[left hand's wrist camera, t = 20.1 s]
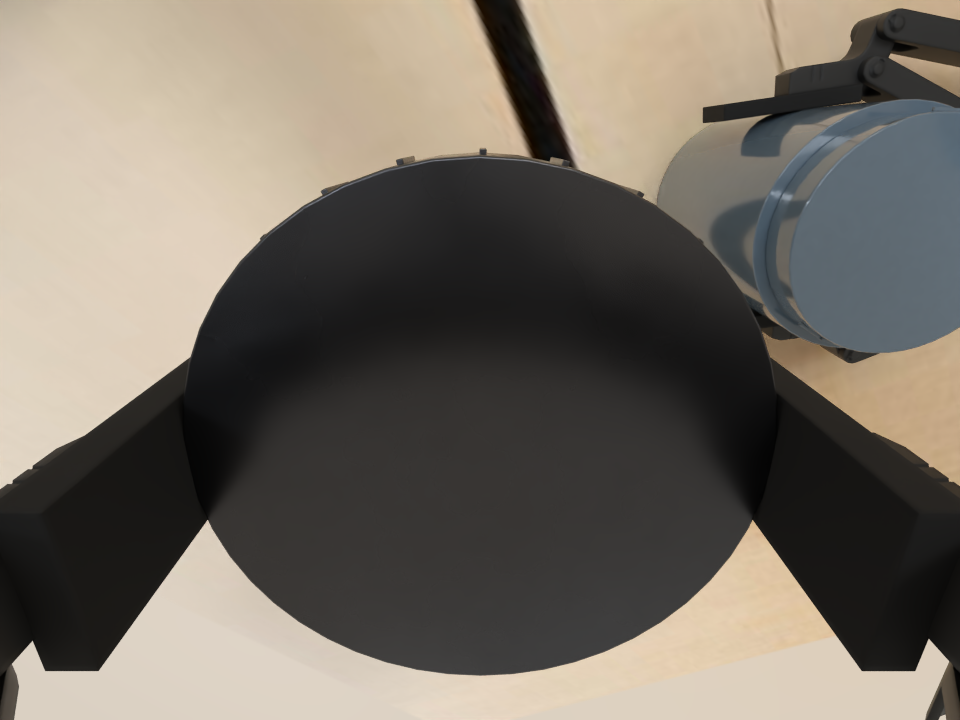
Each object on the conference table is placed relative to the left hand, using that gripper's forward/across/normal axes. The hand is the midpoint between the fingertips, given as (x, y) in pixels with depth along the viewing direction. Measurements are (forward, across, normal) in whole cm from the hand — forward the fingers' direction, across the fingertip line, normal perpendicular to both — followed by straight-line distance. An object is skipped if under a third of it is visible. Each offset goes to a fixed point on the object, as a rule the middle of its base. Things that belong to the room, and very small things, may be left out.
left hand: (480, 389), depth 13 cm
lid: (-3, 0, 0) cm, 3 cm away
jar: (+25, +17, +2) cm, 30 cm away
